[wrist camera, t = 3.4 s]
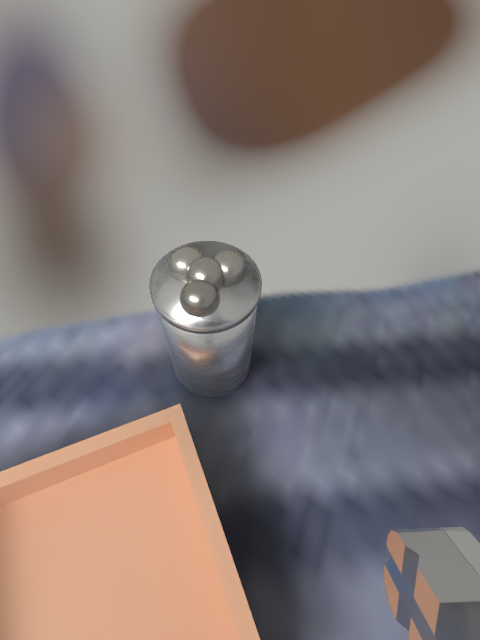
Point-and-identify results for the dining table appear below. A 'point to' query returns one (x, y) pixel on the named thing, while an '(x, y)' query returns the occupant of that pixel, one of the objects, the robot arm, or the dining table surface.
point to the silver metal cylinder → (207, 314)
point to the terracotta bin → (118, 542)
